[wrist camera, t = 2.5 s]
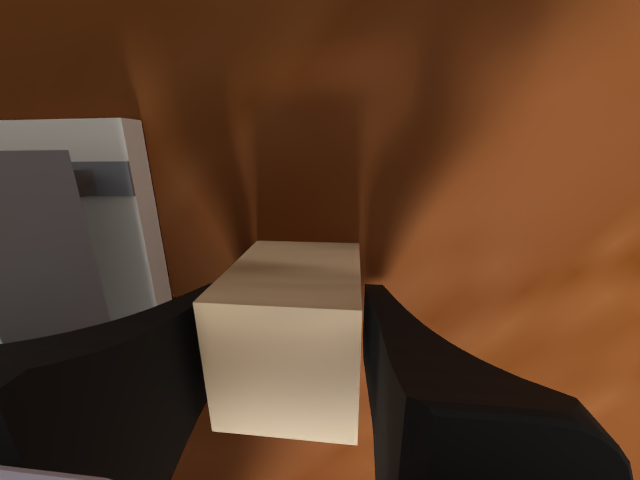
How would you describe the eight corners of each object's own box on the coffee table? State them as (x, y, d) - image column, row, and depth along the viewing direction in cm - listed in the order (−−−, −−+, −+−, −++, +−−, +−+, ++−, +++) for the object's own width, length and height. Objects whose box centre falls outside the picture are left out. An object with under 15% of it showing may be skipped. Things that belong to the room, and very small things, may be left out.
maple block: (356, 333, 13) (357, 445, 8) (264, 328, 13) (212, 431, 8) (359, 242, 11) (362, 310, 7) (257, 240, 12) (192, 302, 7)
